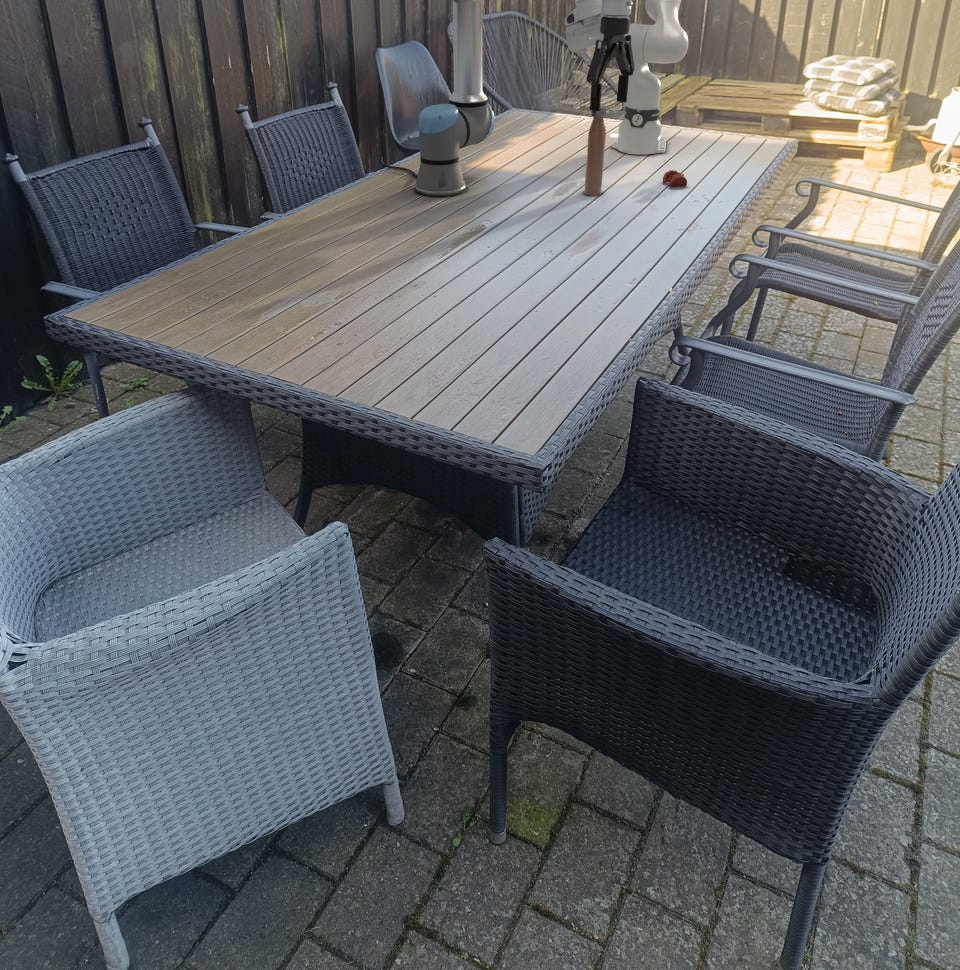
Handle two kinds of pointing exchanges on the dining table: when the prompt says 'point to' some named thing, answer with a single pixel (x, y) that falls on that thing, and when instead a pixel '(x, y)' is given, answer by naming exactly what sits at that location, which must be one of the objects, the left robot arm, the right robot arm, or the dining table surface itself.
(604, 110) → the cap
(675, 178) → the dental model
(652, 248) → the dining table surface
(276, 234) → the dining table surface
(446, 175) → the left robot arm
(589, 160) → the bottle
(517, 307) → the dining table surface
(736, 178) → the dining table surface
